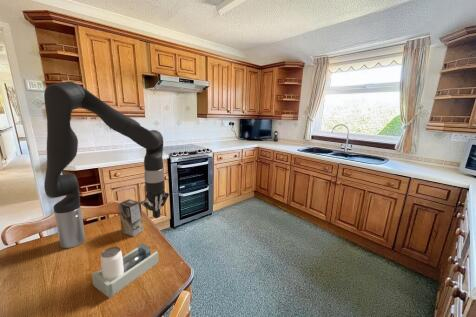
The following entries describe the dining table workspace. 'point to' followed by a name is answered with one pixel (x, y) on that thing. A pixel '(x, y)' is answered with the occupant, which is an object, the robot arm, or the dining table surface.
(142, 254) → the shaft
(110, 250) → the can
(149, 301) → the dining table surface
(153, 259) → the cradle
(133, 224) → the coffee box
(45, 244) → the dining table surface
